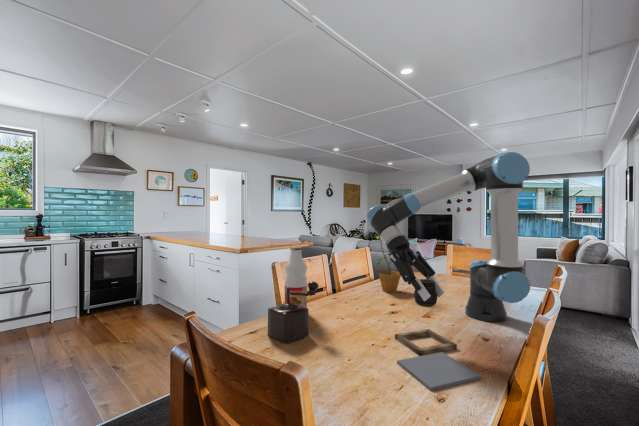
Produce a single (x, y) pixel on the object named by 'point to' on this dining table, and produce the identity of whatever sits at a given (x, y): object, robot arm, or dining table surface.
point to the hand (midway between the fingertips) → (434, 296)
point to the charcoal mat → (438, 370)
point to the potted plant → (388, 275)
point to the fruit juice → (296, 277)
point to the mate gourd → (431, 290)
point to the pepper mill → (290, 318)
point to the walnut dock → (445, 346)
